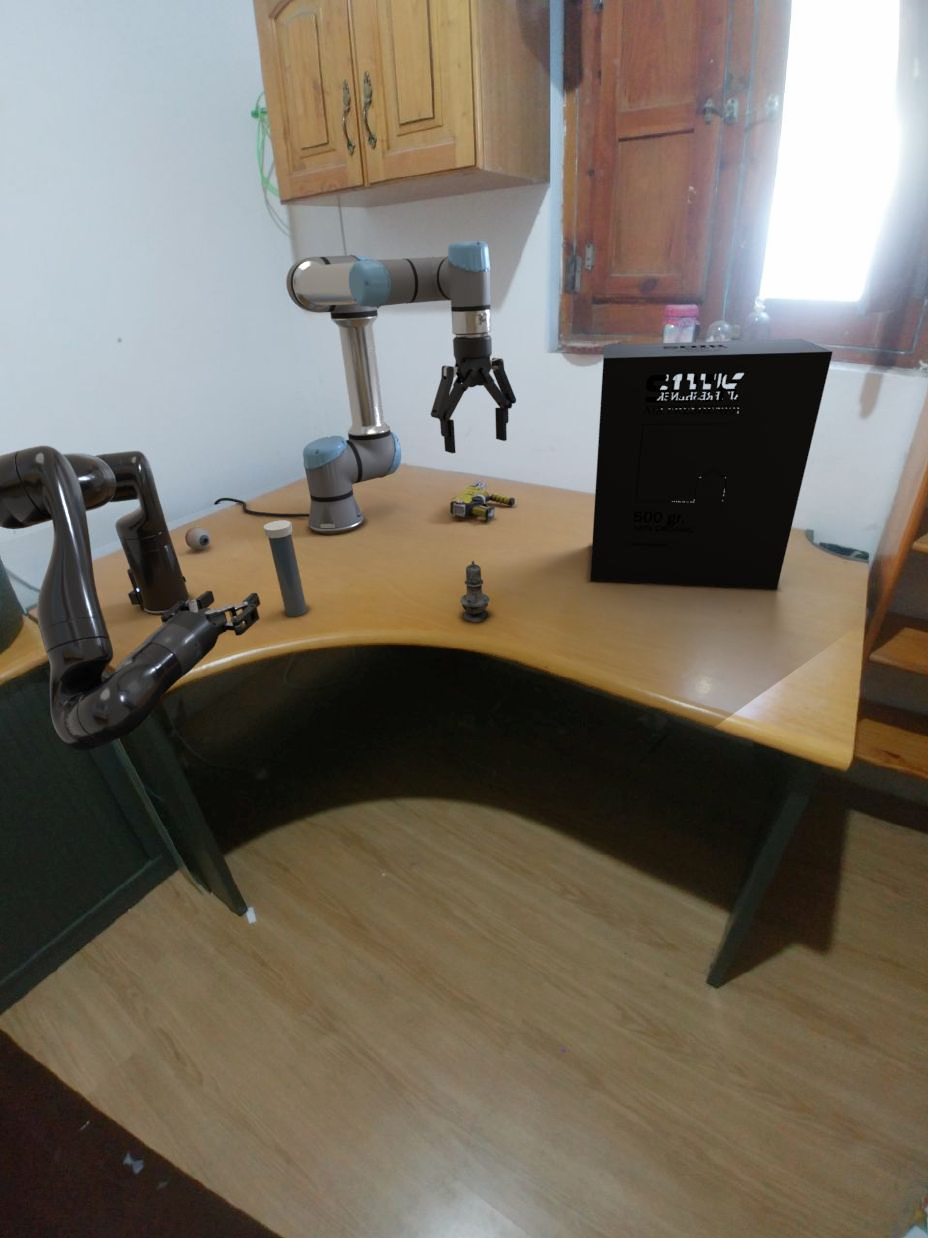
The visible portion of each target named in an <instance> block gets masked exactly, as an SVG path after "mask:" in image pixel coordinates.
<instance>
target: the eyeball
mask: <svg viewBox="0 0 928 1238" xmlns="http://www.w3.org/2000/svg"><path fill="white" fill-rule="evenodd" d="M184 539H185V543H186V545H187V547H189V548H190V549H192V550H194V551H202V550H205V549H207V548H208V547H209V546H210V543H211V535H210V533H209V532H208V531H207V530H206V529H205V528H203V527H201V526H194V527H192V528H189V529H188V530H187V531H186V533H185V535H184Z"/></svg>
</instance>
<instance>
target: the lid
mask: <svg viewBox="0 0 928 1238" xmlns="http://www.w3.org/2000/svg"><path fill="white" fill-rule="evenodd" d="M263 530H264V535H265V537H267V538H268V537H269V538H281V537H285V536H288V535H290V534H291V535H292V533H293V526H292V522H291V521H289V520H286V519H285V520H282V519H281V520H274V521H271V522H268V523H266V524H265V525H263ZM269 538H268V539H269Z"/></svg>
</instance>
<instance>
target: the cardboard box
mask: <svg viewBox="0 0 928 1238" xmlns="http://www.w3.org/2000/svg"><path fill="white" fill-rule="evenodd" d="M833 353H834V352H833V350H830V349H827V348H826V347H825V348H824V347H822V346H821V345H818V344H815V343H813V342H810V341H808V340H805V339H802V338H783V339H782V338H781V339H779V338H777V339H776V338H775V339H749V340H747V339H746V340H723V341H722V340H720V341H719V340H718V341H689V342H687V341H685V342H683V341H682V342H657V343H654V342H653V343H627V344H625V343H624V344H623V343H621V344H604V345H603V359H602V362H603V363H602V375H601V389H600V390H601V392H600V409H599V424H598V425H599V426H598V427H599V428H598V442H597V457H596V458H597V459H596V460H597V461H596V475H595V493H594V496H595V497H594V508H593V509H594V510H593V525H592V527H593V528H592V541H591V557H590V558H591V560H590V575H589V576H590V577H589V580H590V582H603V583H622V584H623V583H625V584H626V583H628V584H645V585H647V584H648V585H669V586H670V585H671V586H693V587H712V588H714V587H715V588H734V589H735V588H737V589H755V590H757V589H758V590H759V589H760V590H778V586H779V582H780V577H781V574H782V570H783V565H784V561H785V556H786V553H787V548H788V543H789V539H790V536H791V531H792V526H793V522H794V519H795V513H796V510H797V505H798V501H799V497H800V493H801V489H802V484H803V480H804V476H805V471H806V467H807V464H808V463H807V462H808V458H809V455H810V450H811V446H812V442H813V437H814V434H815V430H816V425H817V421H818V417H819V411H820V407H821V404H822V400H823V399H822V398H823V394H824V390H825V386H826V381H827V378H828V374H829V369H830V366H831V360H832V356H833ZM738 374H742V376H741V377H740V378H735V376H736V375H738ZM678 375H681V379H680V380H679V384H678V388H675V385H676V379H675V377H676V376H678ZM689 375H693V380H692V381H691V379H688V376H689ZM702 375H704V379H702ZM719 378H720V382H719ZM724 378H725V382H724ZM723 382H724V385H730V384H731V385H734V388H725V387H724V386H723ZM691 383H692V385H695V388H691ZM705 385H710V388H704V386H705ZM662 387H666V389H662Z"/></svg>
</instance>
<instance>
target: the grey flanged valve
mask: <svg viewBox="0 0 928 1238" xmlns="http://www.w3.org/2000/svg"><path fill="white" fill-rule="evenodd" d="M465 577H466V579H465V581H464V585H465V587H466V594H463V596H461V597H460V599H459V602H460V605H461V606H462V608H463V610H464V612H463V613H462V618H463V619H464V620H465V621H468V622H471V623H477V622H482V621H485V620H487V619H488V618H489V615H490V613H489V612H488V610H487V608H488V606H489V603H490V601H491V599H490V597H489V595H487V594H486V593H483V584H484V580H483V579H482V569H481V566H480V565H479V564H476V562H475V561H474V560H472V561H471V562H470V564H468V565H467V566H466V568H465Z"/></svg>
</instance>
